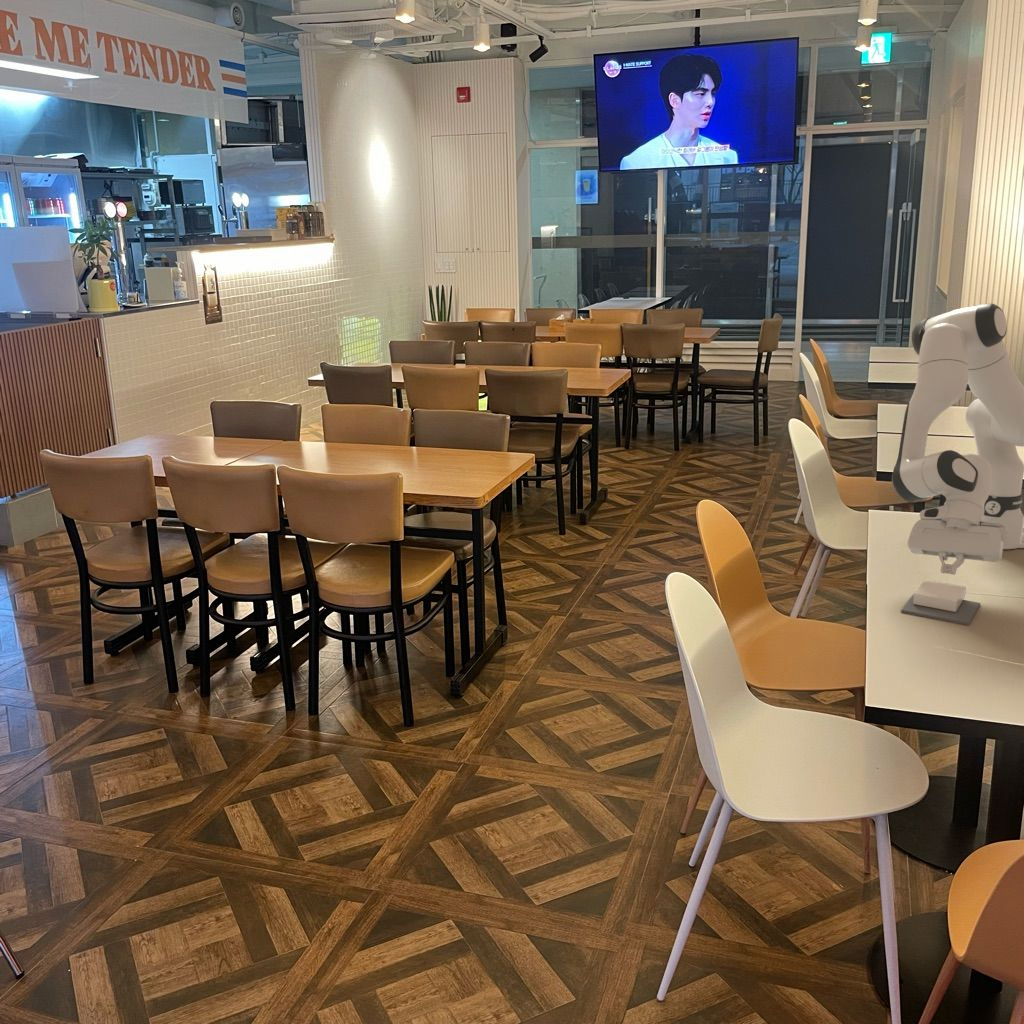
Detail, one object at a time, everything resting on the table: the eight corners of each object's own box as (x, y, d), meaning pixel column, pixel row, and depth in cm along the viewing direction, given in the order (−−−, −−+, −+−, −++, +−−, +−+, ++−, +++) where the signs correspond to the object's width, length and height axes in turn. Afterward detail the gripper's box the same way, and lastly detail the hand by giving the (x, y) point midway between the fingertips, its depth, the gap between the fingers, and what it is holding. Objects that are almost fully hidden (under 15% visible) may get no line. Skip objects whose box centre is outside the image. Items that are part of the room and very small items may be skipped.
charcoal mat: (915, 593, 232) (915, 590, 232) (980, 605, 225) (980, 602, 225) (900, 612, 221) (901, 609, 221) (968, 625, 214) (968, 622, 214)
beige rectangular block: (925, 579, 232) (914, 593, 223) (966, 586, 227) (956, 601, 218) (923, 590, 233) (912, 604, 224) (965, 598, 228) (955, 613, 219)
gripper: (1011, 530, 226) (999, 584, 222) (920, 522, 240) (906, 573, 235) (1006, 517, 222) (993, 572, 218) (913, 510, 235) (899, 561, 231)
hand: (947, 572), depth 226 cm, fingers closed
